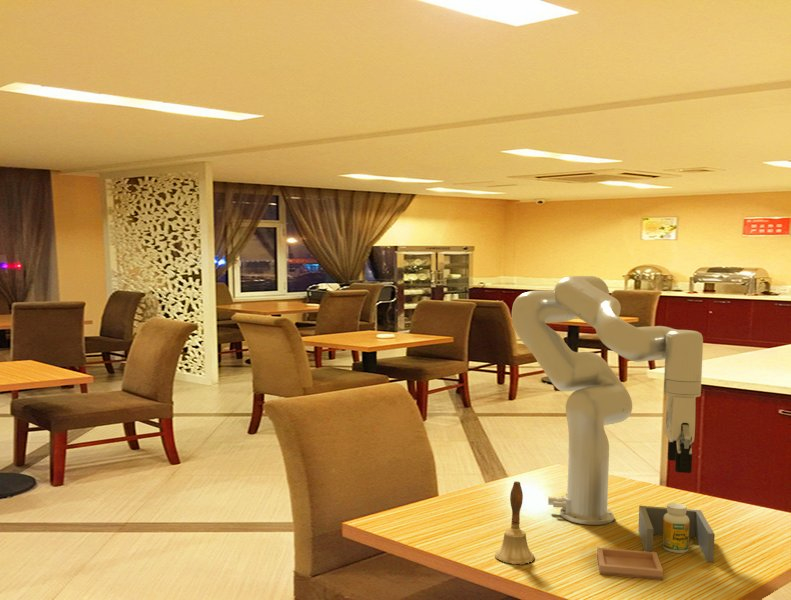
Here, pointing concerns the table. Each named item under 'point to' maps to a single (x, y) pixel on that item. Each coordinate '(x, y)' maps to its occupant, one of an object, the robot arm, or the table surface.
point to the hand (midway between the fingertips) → (679, 466)
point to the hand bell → (515, 534)
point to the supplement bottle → (676, 529)
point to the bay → (654, 525)
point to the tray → (629, 563)
